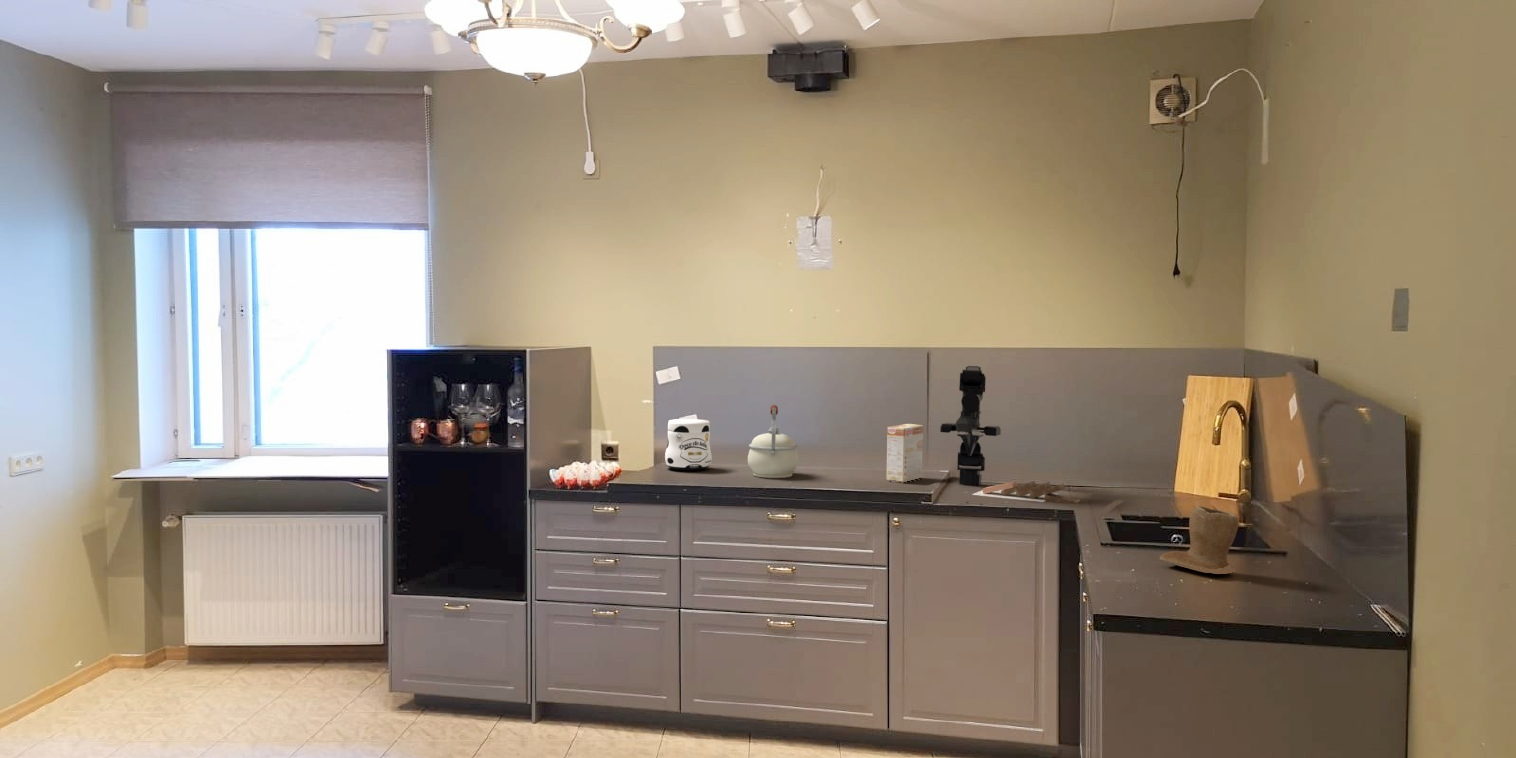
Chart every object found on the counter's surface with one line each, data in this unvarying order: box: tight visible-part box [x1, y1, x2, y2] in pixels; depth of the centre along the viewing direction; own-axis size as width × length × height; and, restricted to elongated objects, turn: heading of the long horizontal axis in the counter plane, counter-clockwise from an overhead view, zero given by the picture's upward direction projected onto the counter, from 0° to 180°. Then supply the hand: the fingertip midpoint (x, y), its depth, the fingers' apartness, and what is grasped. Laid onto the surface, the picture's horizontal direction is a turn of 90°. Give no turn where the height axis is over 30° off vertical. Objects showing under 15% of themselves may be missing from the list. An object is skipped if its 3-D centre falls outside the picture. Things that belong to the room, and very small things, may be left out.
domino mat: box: [971, 489, 1059, 503], centre depth 345 cm, size 23×18×1 cm
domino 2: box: [1001, 480, 1037, 496], centre depth 341 cm, size 2×5×10 cm
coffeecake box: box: [886, 423, 924, 481], centre depth 379 cm, size 15×7×20 cm, turn 144°
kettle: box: [747, 404, 799, 479], centre depth 385 cm, size 25×18×25 cm
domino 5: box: [1044, 493, 1081, 504], centre depth 335 cm, size 2×5×10 cm
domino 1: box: [981, 480, 1018, 494], centre depth 344 cm, size 2×5×10 cm
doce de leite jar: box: [664, 418, 713, 471], centre depth 395 cm, size 17×17×18 cm
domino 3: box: [1016, 481, 1052, 497], centre depth 339 cm, size 2×5×10 cm
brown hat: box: [1159, 505, 1239, 569], centre depth 247 cm, size 15×12×15 cm
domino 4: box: [1030, 482, 1066, 499], centre depth 337 cm, size 2×5×10 cm
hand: (969, 455), depth 349 cm, fingers closed
